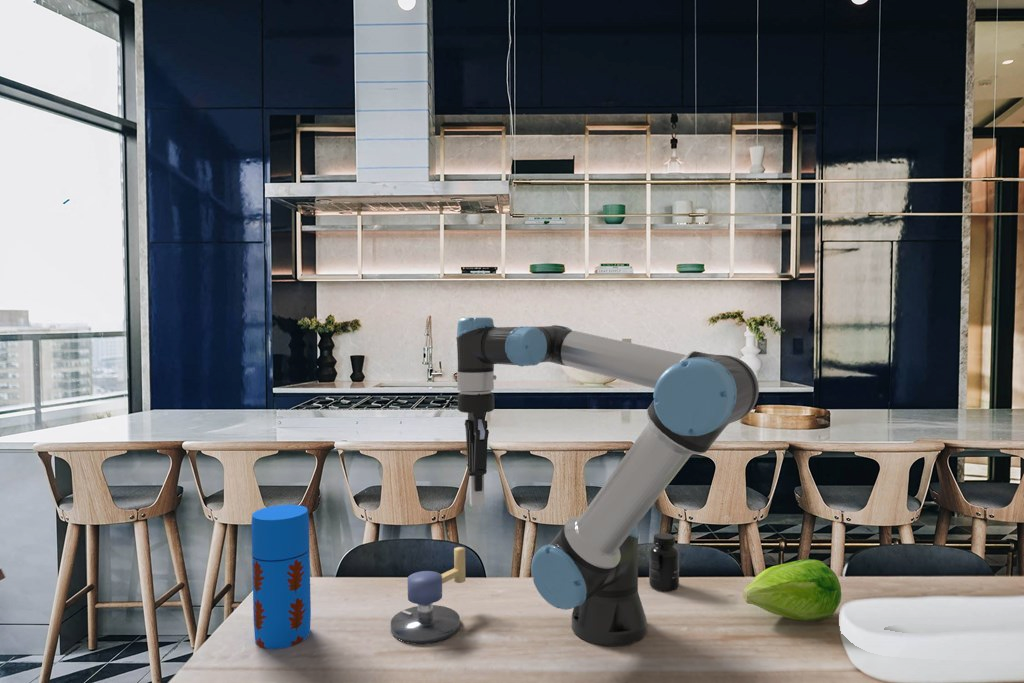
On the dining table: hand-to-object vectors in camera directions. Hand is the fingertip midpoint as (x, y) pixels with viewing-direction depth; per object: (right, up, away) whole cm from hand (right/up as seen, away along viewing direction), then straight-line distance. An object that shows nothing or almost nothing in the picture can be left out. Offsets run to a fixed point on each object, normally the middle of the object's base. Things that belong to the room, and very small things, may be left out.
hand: (477, 505), depth 137 cm
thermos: (-39, -25, -5) cm, 46 cm away
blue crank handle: (-8, -18, +2) cm, 20 cm away
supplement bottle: (+43, -24, +18) cm, 52 cm away
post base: (-10, -25, -2) cm, 27 cm away
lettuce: (+65, -24, +1) cm, 69 cm away
